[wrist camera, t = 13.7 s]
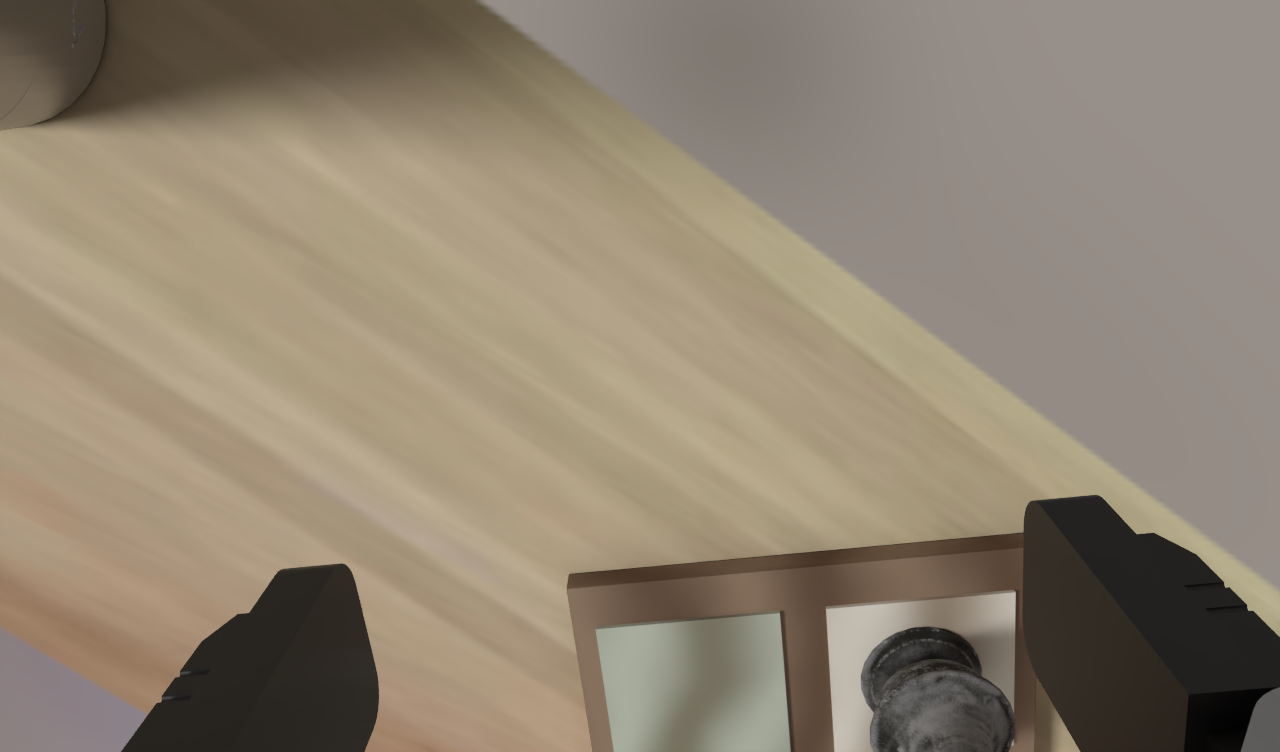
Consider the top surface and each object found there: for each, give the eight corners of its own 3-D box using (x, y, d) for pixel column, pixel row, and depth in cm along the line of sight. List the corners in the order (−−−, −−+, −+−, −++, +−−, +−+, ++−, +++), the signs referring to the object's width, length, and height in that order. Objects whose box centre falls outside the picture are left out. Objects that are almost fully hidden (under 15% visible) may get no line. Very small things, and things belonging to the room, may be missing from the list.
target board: (603, 791, 48) (601, 813, 47) (569, 574, 44) (566, 591, 43) (1024, 757, 47) (1035, 779, 46) (1028, 532, 43) (1040, 548, 42)
